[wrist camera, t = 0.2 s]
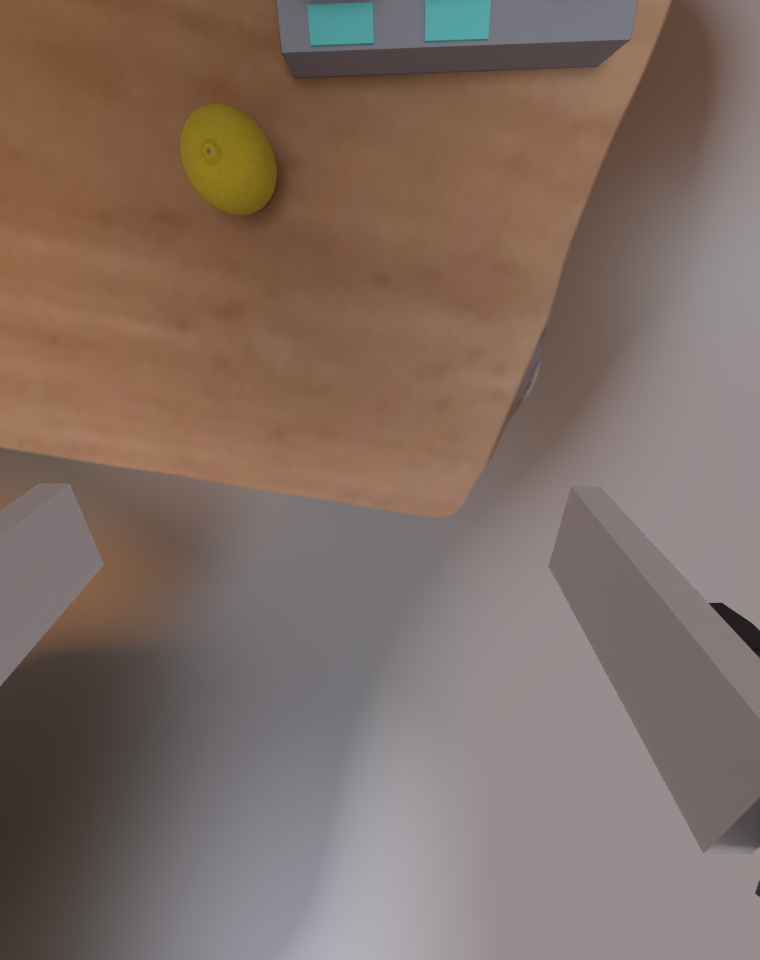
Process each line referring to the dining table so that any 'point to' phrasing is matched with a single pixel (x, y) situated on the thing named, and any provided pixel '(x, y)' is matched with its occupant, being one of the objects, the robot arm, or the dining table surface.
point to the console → (449, 35)
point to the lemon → (228, 159)
